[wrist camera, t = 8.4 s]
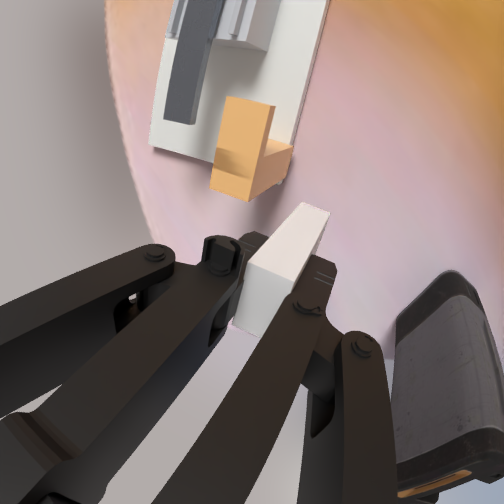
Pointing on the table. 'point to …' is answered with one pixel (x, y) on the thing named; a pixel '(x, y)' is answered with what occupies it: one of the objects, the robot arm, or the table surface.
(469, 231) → the table surface
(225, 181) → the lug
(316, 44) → the board
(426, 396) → the electronic device
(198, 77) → the strap
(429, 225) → the table surface
